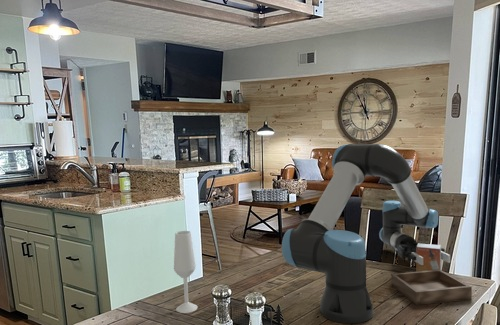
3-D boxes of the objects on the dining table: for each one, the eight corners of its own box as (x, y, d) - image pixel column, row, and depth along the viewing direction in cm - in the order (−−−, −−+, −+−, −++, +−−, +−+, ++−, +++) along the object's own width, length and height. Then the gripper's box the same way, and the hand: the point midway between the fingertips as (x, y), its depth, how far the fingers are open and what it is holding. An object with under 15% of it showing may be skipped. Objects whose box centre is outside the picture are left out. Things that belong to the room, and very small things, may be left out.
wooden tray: (416, 305, 120) (416, 292, 120) (391, 285, 136) (391, 273, 135) (471, 299, 122) (471, 286, 122) (440, 280, 138) (440, 269, 138)
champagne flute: (182, 302, 128) (178, 229, 127) (201, 304, 126) (197, 230, 125) (172, 311, 122) (167, 235, 120) (191, 314, 120) (187, 235, 118)
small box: (416, 275, 144) (415, 246, 143) (417, 270, 149) (417, 242, 148) (440, 278, 140) (440, 248, 140) (441, 272, 145) (441, 244, 145)
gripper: (429, 250, 164) (464, 267, 142) (377, 254, 161) (406, 273, 139) (428, 232, 163) (464, 247, 141) (377, 236, 160) (406, 252, 138)
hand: (435, 260), depth 140 cm, fingers closed on small box, 9 cm apart
